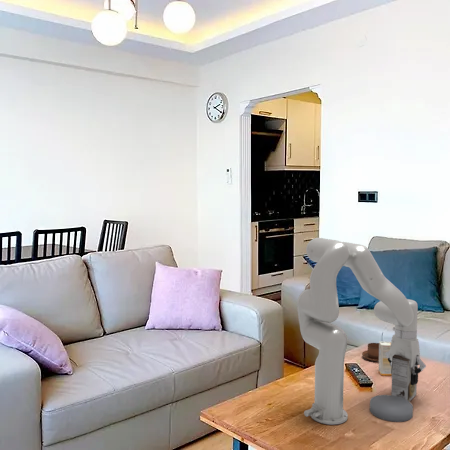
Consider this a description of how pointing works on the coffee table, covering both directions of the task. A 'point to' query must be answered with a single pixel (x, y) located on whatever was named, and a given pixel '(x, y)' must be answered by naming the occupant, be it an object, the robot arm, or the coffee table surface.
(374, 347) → the cup and saucer
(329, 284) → the robot arm
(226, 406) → the coffee table surface
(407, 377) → the coffee box
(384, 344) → the supplement box
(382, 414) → the podium
